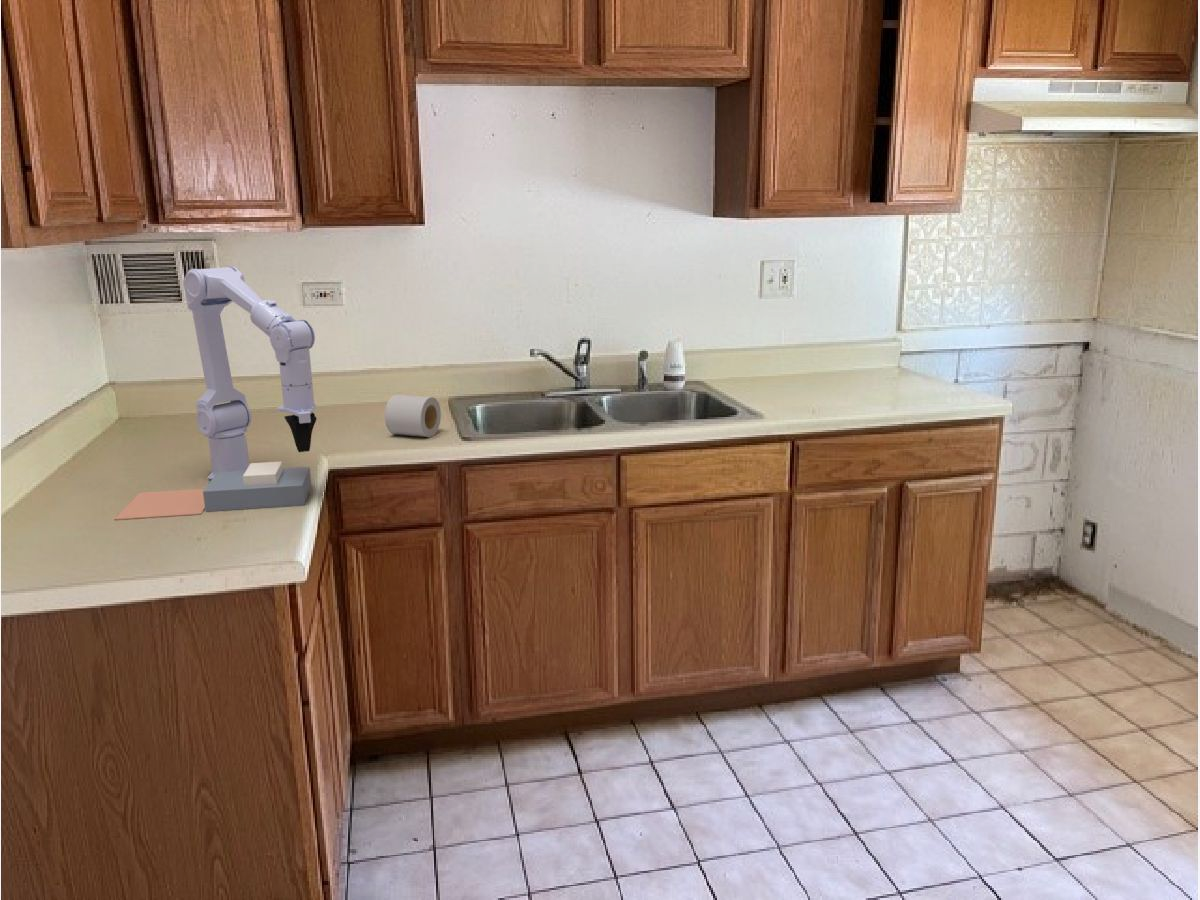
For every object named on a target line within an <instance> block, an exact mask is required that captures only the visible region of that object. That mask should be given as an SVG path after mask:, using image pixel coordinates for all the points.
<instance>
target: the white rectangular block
mask: <svg viewBox="0 0 1200 900" xmlns="http://www.w3.org/2000/svg"><path fill="white" fill-rule="evenodd" d="M250 463H251V464H250V465H249V467H248V469H247V470H246V472H245V473H244V475H243V483H244V486H254V485H270V484H277V482H278V480H279V478H280V476H281V474H282V472H283V468H284V467H283V461H267V462H250Z"/></svg>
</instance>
